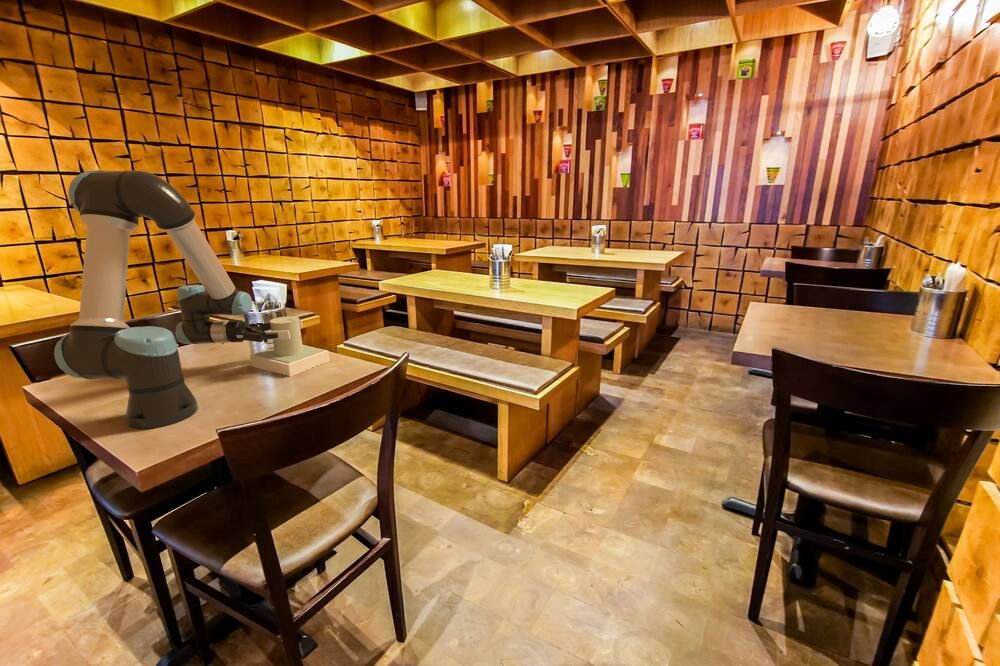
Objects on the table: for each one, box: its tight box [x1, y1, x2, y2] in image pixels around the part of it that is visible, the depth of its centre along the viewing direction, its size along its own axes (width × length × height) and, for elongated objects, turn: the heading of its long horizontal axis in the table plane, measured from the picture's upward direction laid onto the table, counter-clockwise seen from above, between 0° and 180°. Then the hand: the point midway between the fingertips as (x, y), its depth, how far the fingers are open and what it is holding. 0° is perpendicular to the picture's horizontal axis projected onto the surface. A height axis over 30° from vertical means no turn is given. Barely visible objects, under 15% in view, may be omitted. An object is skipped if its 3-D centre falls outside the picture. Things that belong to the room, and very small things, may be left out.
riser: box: [249, 345, 331, 377], centre depth 155 cm, size 20×16×4 cm
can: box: [269, 315, 304, 356], centre depth 153 cm, size 9×9×12 cm
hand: (295, 329), depth 153 cm, fingers open, 13 cm apart
